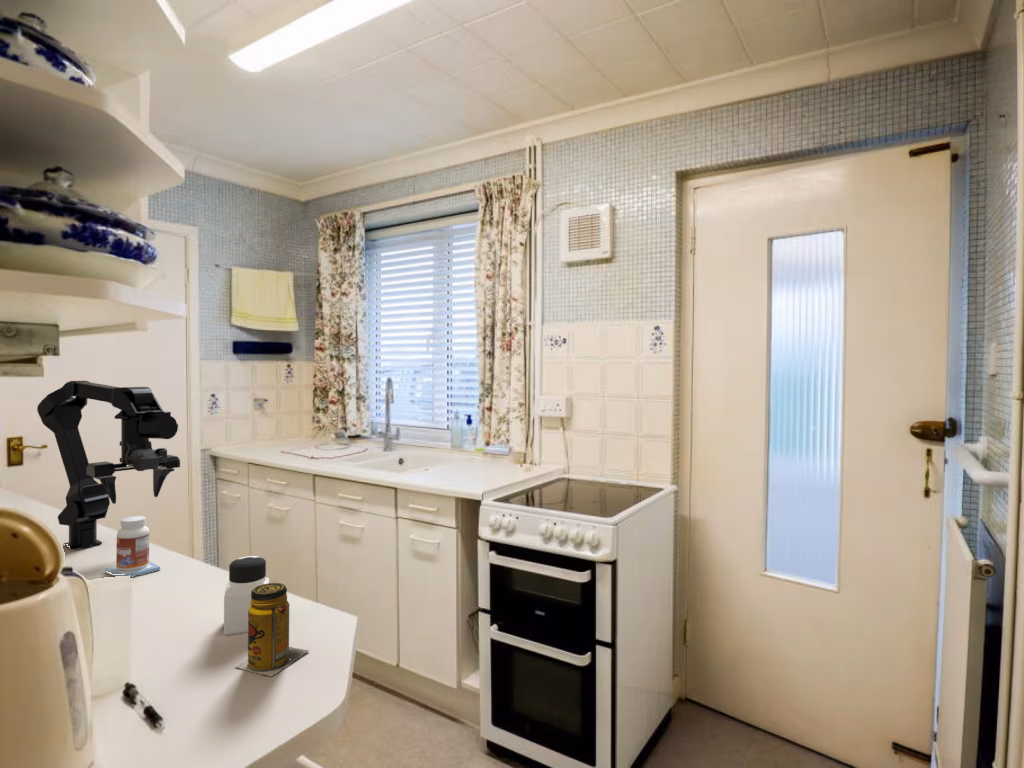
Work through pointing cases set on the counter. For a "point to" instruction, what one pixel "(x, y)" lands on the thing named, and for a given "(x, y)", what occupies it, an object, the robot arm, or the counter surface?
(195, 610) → the counter surface
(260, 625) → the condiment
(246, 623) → the medicine bottle
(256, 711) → the counter surface
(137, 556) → the pill bottle
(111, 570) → the coaster
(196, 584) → the counter surface
